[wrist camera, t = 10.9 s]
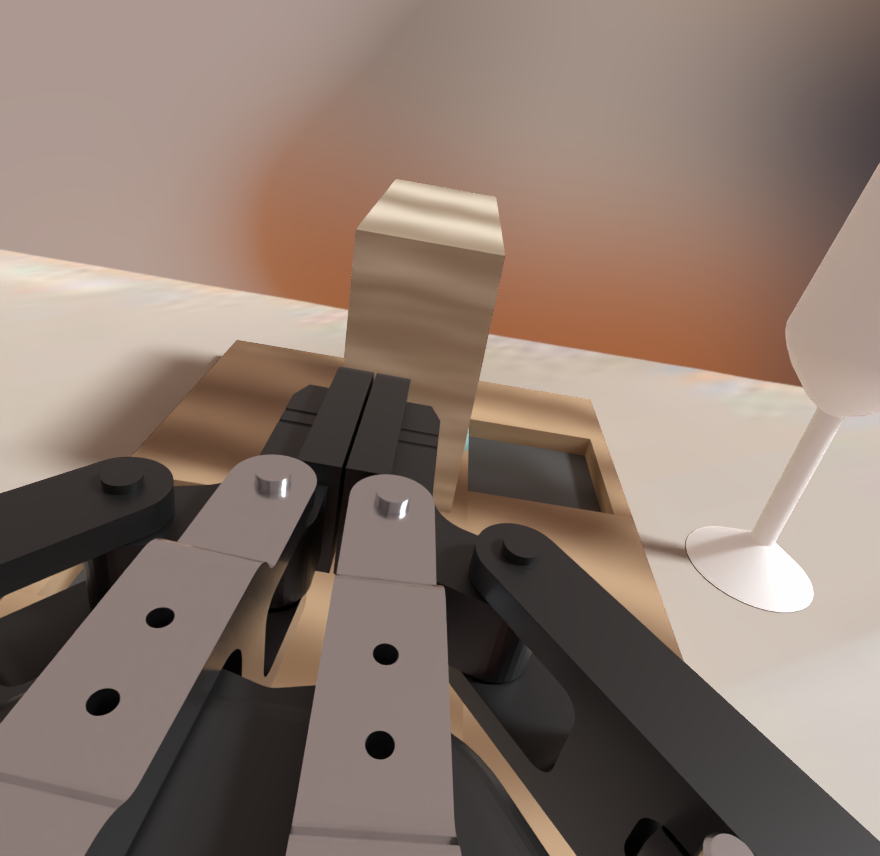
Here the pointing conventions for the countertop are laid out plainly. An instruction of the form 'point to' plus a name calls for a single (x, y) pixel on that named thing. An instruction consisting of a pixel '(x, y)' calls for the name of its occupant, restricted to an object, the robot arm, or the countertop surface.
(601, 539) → the trap deck
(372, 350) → the birch block
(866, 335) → the champagne flute
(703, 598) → the countertop surface
